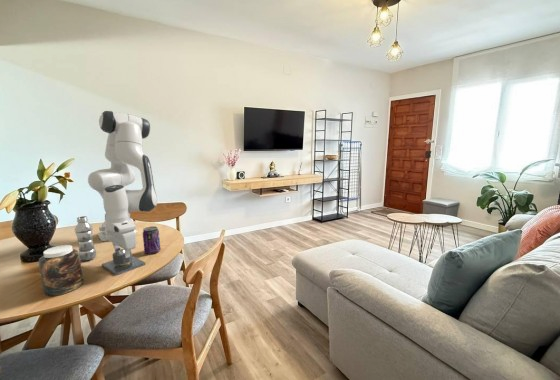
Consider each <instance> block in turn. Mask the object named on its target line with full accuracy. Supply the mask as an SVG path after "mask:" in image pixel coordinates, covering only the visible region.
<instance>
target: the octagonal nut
mask: <svg viewBox="0 0 560 380" xmlns="http://www.w3.org/2000/svg"><path fill="white" fill-rule="evenodd" d="M131 255H132V251H130V257H128V258H126V257H124V254H122V255H119V251H116V252H115V251H114V252H113V253H112V260H113V262H114V264H116V265H120V264H125V263H128V262H130V261H131V260H132V256H133V255H132V256H131Z"/></svg>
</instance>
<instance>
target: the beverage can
mask: <svg viewBox="0 0 560 380" xmlns="http://www.w3.org/2000/svg"><path fill="white" fill-rule="evenodd" d="M142 239H143V240H142V241H143V249H144V250H143V251H144V253H145V254H148V255H151V254H156V253H158V252H159V251H161V241H160V231H159V229H158V226H155V225H154V226H153V225H151V226H148V227H144V228H143V230H142Z"/></svg>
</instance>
